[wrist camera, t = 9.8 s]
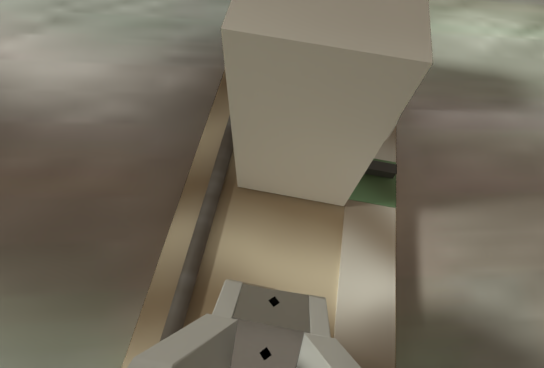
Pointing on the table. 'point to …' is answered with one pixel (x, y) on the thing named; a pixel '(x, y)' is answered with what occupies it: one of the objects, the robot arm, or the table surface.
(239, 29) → the block
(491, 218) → the table surface
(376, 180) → the board
